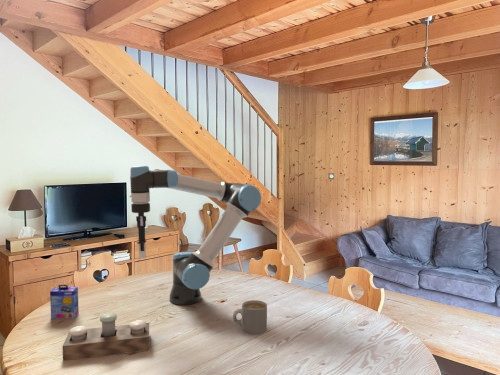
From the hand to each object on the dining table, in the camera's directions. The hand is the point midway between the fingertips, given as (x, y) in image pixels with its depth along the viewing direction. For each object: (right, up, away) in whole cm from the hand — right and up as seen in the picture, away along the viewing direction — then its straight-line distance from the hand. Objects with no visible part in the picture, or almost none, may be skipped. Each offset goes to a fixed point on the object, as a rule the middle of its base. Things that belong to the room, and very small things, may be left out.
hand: (142, 257), depth 161 cm
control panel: (-5, -27, -25) cm, 37 cm away
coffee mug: (+46, -27, -9) cm, 54 cm away
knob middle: (-5, -23, -25) cm, 34 cm away
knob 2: (+5, -27, -22) cm, 35 cm away
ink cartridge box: (-34, -26, +2) cm, 43 cm away
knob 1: (-15, -27, -27) cm, 41 cm away
